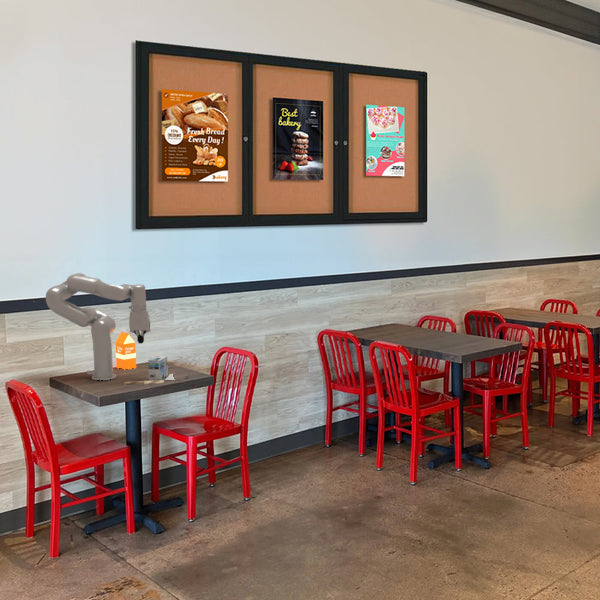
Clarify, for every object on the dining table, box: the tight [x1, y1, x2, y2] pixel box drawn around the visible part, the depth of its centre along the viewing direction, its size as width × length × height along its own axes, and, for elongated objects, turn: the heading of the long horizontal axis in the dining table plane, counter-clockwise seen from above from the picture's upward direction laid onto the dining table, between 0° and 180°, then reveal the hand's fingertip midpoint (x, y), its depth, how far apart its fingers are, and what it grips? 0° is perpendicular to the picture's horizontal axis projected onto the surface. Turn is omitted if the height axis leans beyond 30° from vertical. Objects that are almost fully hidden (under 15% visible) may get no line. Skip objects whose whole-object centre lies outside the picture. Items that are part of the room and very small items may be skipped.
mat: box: [164, 373, 175, 380], centre depth 398 cm, size 10×14×1 cm
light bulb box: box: [147, 355, 169, 381], centre depth 397 cm, size 11×7×11 cm, turn 168°
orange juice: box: [115, 331, 137, 371], centre depth 422 cm, size 8×9×20 cm
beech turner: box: [123, 379, 165, 386], centre depth 386 cm, size 20×6×1 cm, turn 102°
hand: (140, 343), depth 395 cm, fingers closed
